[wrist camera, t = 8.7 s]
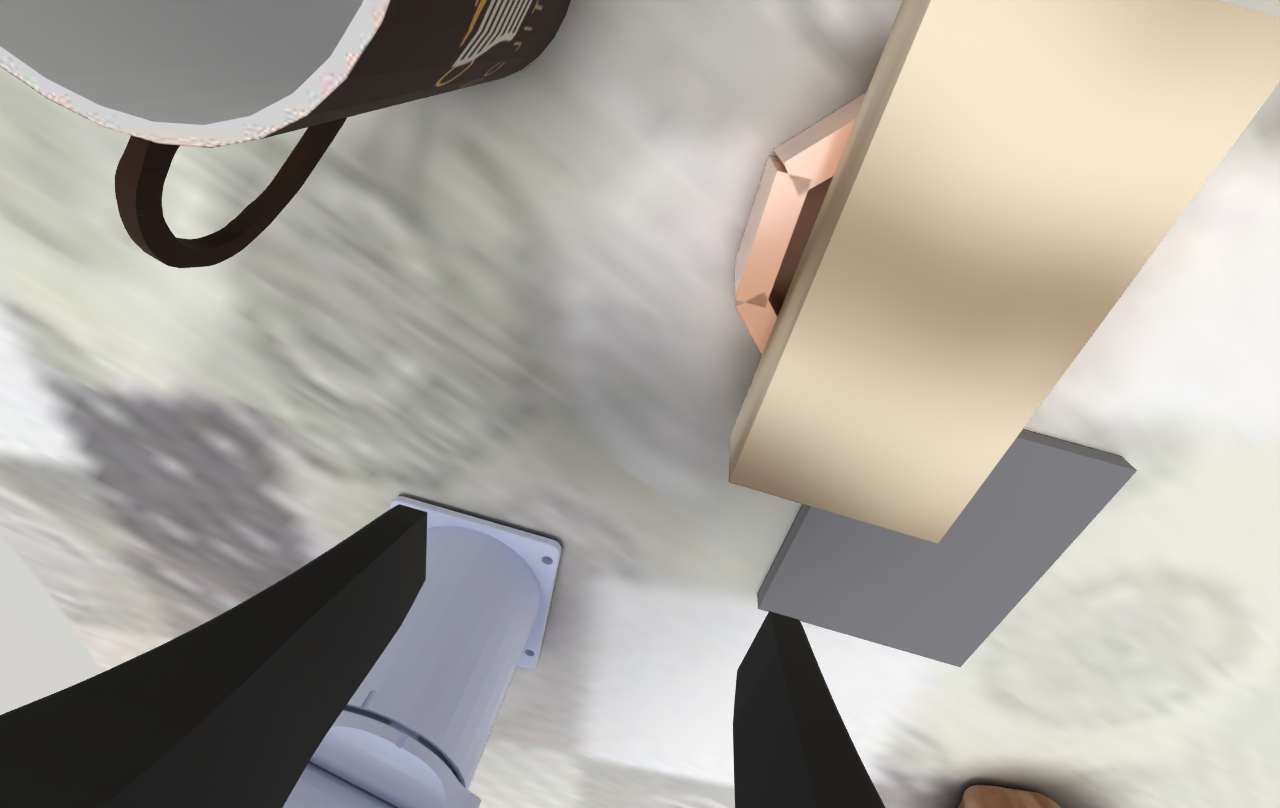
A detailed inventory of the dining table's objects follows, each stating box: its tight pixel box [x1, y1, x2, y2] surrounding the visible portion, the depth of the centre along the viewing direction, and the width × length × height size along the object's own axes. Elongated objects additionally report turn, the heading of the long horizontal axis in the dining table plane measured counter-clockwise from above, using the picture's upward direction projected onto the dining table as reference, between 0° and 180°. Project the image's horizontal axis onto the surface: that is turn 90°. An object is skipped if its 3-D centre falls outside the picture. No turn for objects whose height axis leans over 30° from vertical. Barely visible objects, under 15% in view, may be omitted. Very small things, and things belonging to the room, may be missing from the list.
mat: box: [757, 429, 1137, 667], centre depth 21 cm, size 11×9×1 cm
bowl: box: [735, 92, 867, 355], centre depth 14 cm, size 8×8×4 cm
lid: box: [729, 0, 1280, 543], centre depth 12 cm, size 11×6×2 cm, turn 166°
